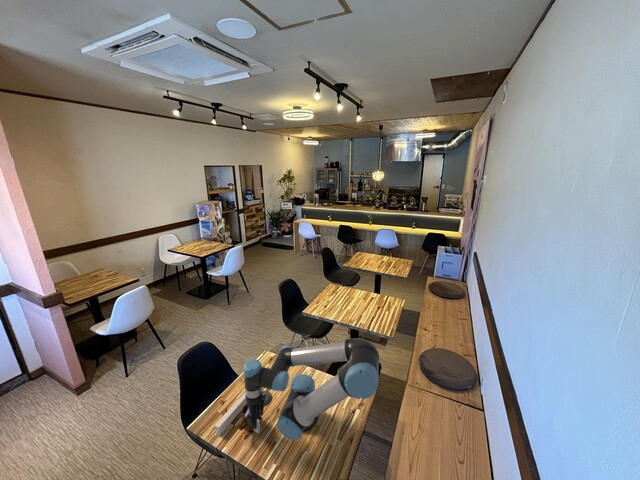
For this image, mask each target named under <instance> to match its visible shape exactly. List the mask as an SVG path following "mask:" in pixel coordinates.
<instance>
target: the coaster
mask: <svg viewBox="0 0 640 480" xmlns="http://www.w3.org/2000/svg"><path fill="white" fill-rule="evenodd" d="M263 394H265V395H266V397H265V401H264V406H266V405H268V404H270V402H271V400H272V394H271V392H270V391H268V390H263Z"/></svg>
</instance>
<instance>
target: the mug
mask: <svg viewBox="0 0 640 480" xmlns="http://www.w3.org/2000/svg"><path fill="white" fill-rule="evenodd" d="M247 407H248V404H246V405H245V406H244V407H243V409H242V410H241V417H242V418H241V420H240V422H239V423H238V429H239V431H243V430H245V431H254V428H253V427H252V426H251V425H249V424H248V421H247V419H246V417H245V416H243V415H244V413H246V412H247V410H248V409H247ZM250 414H251V412H250Z"/></svg>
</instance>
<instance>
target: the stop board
mask: <svg viewBox="0 0 640 480" xmlns="http://www.w3.org/2000/svg"><path fill="white" fill-rule="evenodd" d="M246 404H247V402H246V394H245V392H243V394H242V395H241V396H240V397H239V398H238V399H237V400H236V402H235V403H234V404H233V405H232V406H231V407H230V408H229V409H228V410H227V411H226V412H225V414H224V415H223V416H222V417H221V418H219V420H218V421H217V422H216V424H214V430H215V434H216V435H218V436H222V434H223V433H224V432H225V430H227V428H228V427H229V426H230V424H231V423H232V422H233V421H234V420H235V419H236V417H237V416H238V415H239V414H240V413H242V409H243V407H244V406H245V405H246Z"/></svg>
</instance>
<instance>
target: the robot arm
mask: <svg viewBox="0 0 640 480" xmlns="http://www.w3.org/2000/svg"><path fill="white" fill-rule="evenodd" d="M336 362H337V363H338V362H346V363H344V364H343V365H342V366H340V367H339V368H338V370H337V374H336V375H335V376H333V377H331V378H330V379H329V380H327V381H326V382H324V383H323V384H321V385H320V386H319V387H317V388H316V384H315V379H314V378H313V377H312V376H311V375H309V374H305V373H304V374H303V373H302V374H301V373H300V374H297V375H295V376H294V377H292V379H291V381H290V384H289V379H290V374H289V372H288V371H289V370H290V368H291V367H292V368H293V367H297V366H298V367H299V366H301V367H302V366H309V365H318V364H319V365H320V364H327V363H336ZM379 363H380V354H379V351H378V349H377V347H376V346H375V345H374V344H373V343H372V342H371V341H369V340H367V339H364V338H358V337H355V338H354V337H353V338H346V339H344V341H341V342H333V343H326V344H317V345H312V346H305V347H297V348H295V347H294V346H292V345H289V344H286V345H284V346H283V347H281V349H280V350H279V351H278V354H277V356H276V358H275V359H274V361H273V363H272V365H271V366H270V367H265V366H262V362H261V361H260V360H259V359H255V358H254V359H249V360H247V361H246V362H245V363H244V365H243V374H242V375H243V376H242V377H243V380H244V393H245V394H246V402H247V404H248V407H247V409H248V410H247V412H246V413H244V415H243V416H245V417H246V419H247V421H248V424H249V425H251V426H252V427H253V428H254V429H253V432H255V433H257V434H259V433H260V431H261V421H262V420H263V417H262V416H263V415H264V410H265V409H264V408H265V405H264V401H265V397H266V395H265V394H263V391H264V389H267V390H271V391H275V392H284V391H286V389H287V388H288V384H289V385H290V391H289V392H288V396H287V398H286V400H285V402H284V405H283V407H282V409H281V412H280V414H279V416H278V419H277V422H276V426H277V427H276V428H277V430H278V432H279V433H280V434H281V435H282V436H283V437H285V438H287V439H289V440H291V441H299V440H301V438H302V436H303V433H304V432H307V431H310V430H312V429H313V428H315V426H317V423H318V421H319V416H320V415H321V414H323V413H324V412H326V411H328V410H330V409H331V408H332V407H335V406H336V405H337V404H339V403H340V402H342V401H343V400H345V399H347V398H348V397H350V398H353V399H357V400H361V399H362V400H366V399H369V398H371V397H372V396H373V395H375V393H376V392H377V390H378V385H379V380H380V379H379V377H380V376H379V374H380V373H379V371H380V370H379V367H380V366H379V365H380V364H379ZM250 412H251V414H250Z"/></svg>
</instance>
